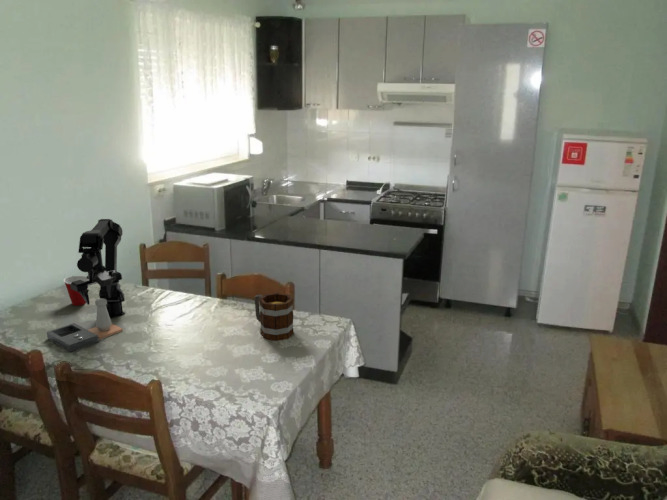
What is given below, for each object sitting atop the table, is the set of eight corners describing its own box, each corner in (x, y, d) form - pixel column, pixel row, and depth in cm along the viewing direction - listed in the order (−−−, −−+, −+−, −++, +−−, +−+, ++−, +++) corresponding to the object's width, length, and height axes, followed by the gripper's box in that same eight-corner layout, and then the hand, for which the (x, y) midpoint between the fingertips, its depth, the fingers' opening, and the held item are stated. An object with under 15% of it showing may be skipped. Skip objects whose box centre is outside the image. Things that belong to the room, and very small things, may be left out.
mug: (300, 333, 219) (300, 298, 215) (275, 344, 210) (274, 308, 206) (269, 319, 232) (268, 286, 228) (243, 329, 223) (242, 295, 218)
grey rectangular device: (75, 329, 221) (74, 322, 220) (98, 342, 210) (97, 334, 209) (47, 339, 213) (46, 331, 212) (70, 352, 202) (69, 344, 201)
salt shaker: (106, 333, 216) (102, 302, 212) (93, 331, 217) (89, 301, 213) (114, 327, 221) (111, 297, 218) (102, 325, 222) (98, 296, 219)
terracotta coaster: (109, 324, 226) (109, 322, 226) (122, 331, 220) (122, 328, 220) (86, 332, 219) (85, 330, 218) (99, 339, 213) (99, 337, 212)
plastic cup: (86, 308, 243) (82, 282, 239) (62, 307, 243) (58, 282, 240) (96, 299, 253) (93, 274, 250) (73, 298, 253) (70, 274, 250)
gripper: (82, 274, 201) (87, 313, 205) (127, 262, 215) (131, 298, 219) (67, 268, 207) (72, 306, 212) (112, 256, 221) (116, 292, 226)
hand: (99, 301), depth 217 cm, fingers open, 9 cm apart
